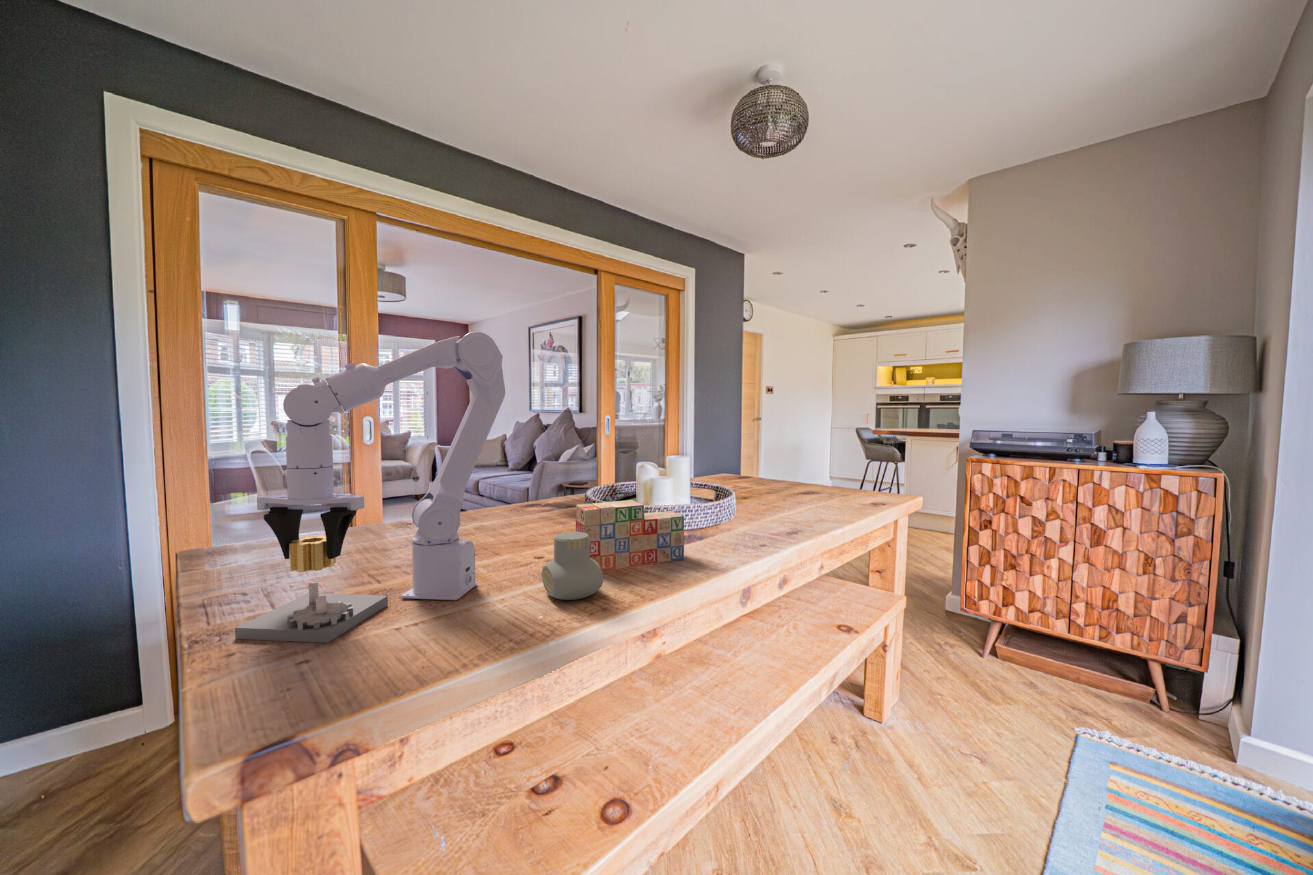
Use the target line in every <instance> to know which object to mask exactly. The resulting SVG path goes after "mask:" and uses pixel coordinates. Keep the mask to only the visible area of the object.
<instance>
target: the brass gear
mask: <svg viewBox="0 0 1313 875" xmlns="http://www.w3.org/2000/svg"><path fill="white" fill-rule="evenodd" d="M336 558H337V557H336ZM336 558H334V559H328V557H327V550H326V534H324V535H322V534H321V535H318V536H304V537H303V538H299V539H295V540H292V541H291V543H289V559H288V560H289V564H288V565H289V571H290V572H294V571H296V572H297V573H306V572H309V571H311V572H312V571H315V572H318V571H322V570H323V569H327V568H332V567H334V566H335V564H336Z"/></svg>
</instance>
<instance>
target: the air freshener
mask: <svg viewBox="0 0 1313 875" xmlns="http://www.w3.org/2000/svg"><path fill="white" fill-rule="evenodd" d="M603 574H604V573H603V570H601V568H600V566H599V564H598V563H597V562H596V561H595V560H594V559H592V558H590V536H589V535H588V534H586V533H583V532H576V531H566V532H565V531H564V532H560V533H558V534H556V535H555V536H554V537H553V559H552V560H550V561H549V562H547V563H546V564H545V565H543V567H542V570H541V579H542V584H543V587H544V590H545V591H546V593H547V595H549V596H550V597H553V598H555V599H556V600H561V601H575V600H581V599H586V598H588V597H590V596H591V595H594V594H595V593H596V592H598V591H599V590H600V589H601V588H602V586H603V583H604V576H603Z"/></svg>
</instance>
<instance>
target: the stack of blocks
mask: <svg viewBox="0 0 1313 875" xmlns="http://www.w3.org/2000/svg"><path fill="white" fill-rule="evenodd" d="M575 508H576V509H575V510H576V511H575V512H576V513H575V514H576V519H575V532H583V533H586V534H588V535H589V536H590V558H592V559H594V560H595V561H596V562H597V563H598V564H599V566H600V568H601V570H602V571H607V570H616V569H624V568H629V567H630V568H631V567H635V566H636V567H637V566H645V565H650V563H653V564H657V563H658V564H660V563H666V562H668V563H669V562H674V561H683V560H684V559H685V516H684V515H682V514H680V513H678V512H674V511H672V510H667V511H654V512H645V505H644V504H642V503H640V502H638V501H635V500H632V499H630V500H616V501H615V500H614V501H606V502H605V501H604V502H595V503H594V502H593V503H580V504H576V505H575Z"/></svg>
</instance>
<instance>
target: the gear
mask: <svg viewBox="0 0 1313 875" xmlns="http://www.w3.org/2000/svg"><path fill="white" fill-rule="evenodd" d="M350 615H353V607H352V604H351V603H347V604H343V602H340V601H338V602H336V603H328V602H326V612H324V613H316V606H313V605H310V606H307V608H305V609H303V610H296V611H294V615H289V616H288V617H287V618H288V624H289V628H290V629H292V628H296V627H297V628H298V630H299V631H303V630H305V629H310V628H314V630H317V629H320V628H321V627H324V626H328V625H330V626H334V625H337V622H340V621H346V620H348V619H349V616H350Z"/></svg>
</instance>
